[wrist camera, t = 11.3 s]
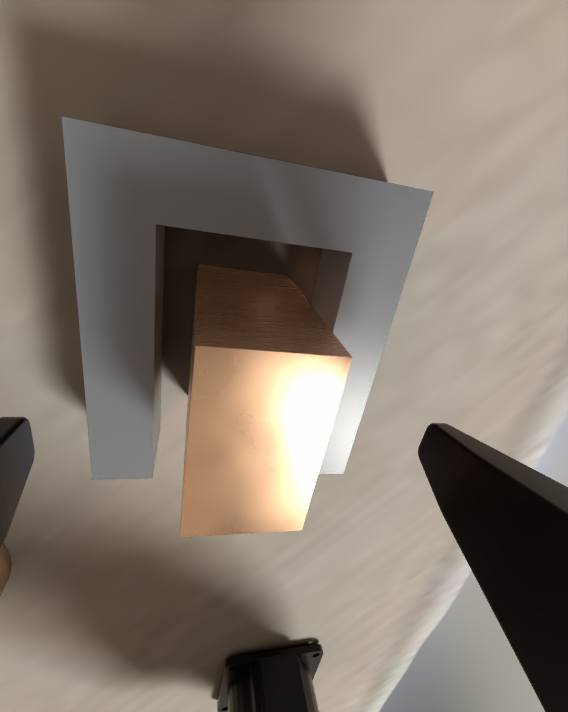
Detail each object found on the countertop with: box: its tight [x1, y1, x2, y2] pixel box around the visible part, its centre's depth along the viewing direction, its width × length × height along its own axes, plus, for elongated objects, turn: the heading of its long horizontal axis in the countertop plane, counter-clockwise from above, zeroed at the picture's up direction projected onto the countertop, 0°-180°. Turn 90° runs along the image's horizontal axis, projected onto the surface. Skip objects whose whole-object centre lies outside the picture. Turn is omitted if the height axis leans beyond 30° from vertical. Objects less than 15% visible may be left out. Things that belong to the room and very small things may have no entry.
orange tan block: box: [180, 264, 353, 537], centre depth 10 cm, size 5×3×6 cm, turn 169°
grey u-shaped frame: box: [62, 116, 433, 480], centre depth 11 cm, size 10×9×2 cm
